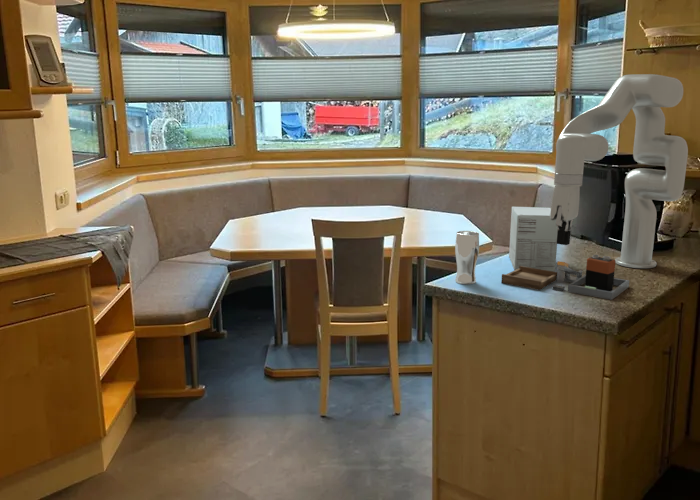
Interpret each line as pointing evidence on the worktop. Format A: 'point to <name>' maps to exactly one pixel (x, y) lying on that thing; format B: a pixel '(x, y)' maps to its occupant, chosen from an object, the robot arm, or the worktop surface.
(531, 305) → the worktop surface
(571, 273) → the release key
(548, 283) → the wooden tray
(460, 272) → the beer glass
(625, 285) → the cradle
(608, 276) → the battery
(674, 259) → the worktop surface
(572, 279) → the key mount
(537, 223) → the supplement box
